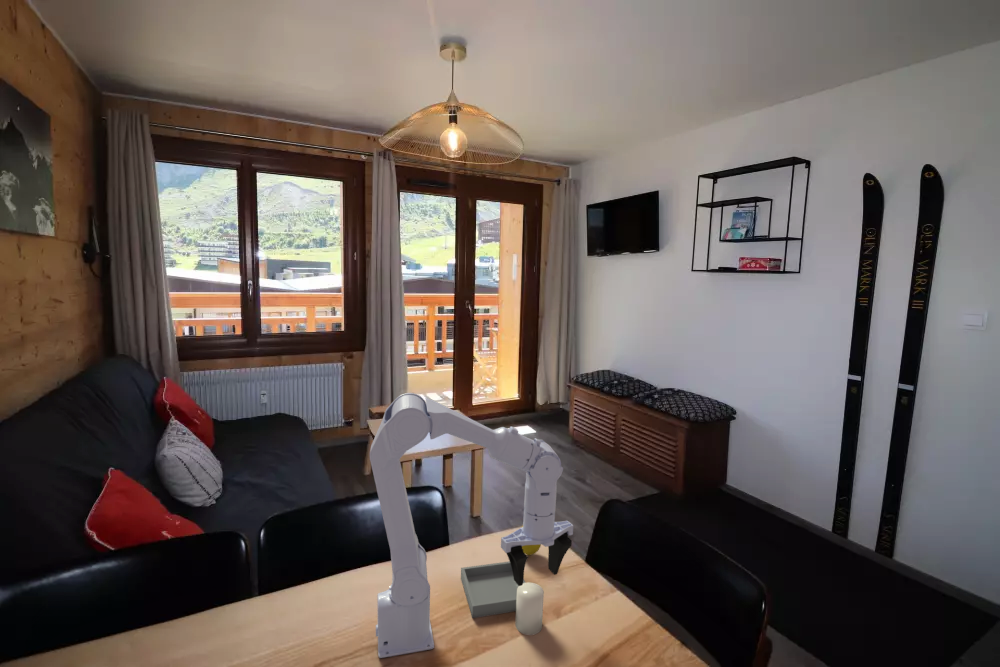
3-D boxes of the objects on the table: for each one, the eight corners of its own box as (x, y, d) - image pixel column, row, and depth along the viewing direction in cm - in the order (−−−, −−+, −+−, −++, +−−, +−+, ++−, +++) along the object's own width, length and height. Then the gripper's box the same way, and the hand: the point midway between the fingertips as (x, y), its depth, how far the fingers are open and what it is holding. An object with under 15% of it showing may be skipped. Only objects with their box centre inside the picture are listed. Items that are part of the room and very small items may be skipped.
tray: (472, 618, 93) (472, 606, 93) (460, 578, 105) (461, 567, 104) (531, 608, 96) (532, 597, 96) (514, 571, 108) (514, 560, 107)
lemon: (543, 561, 112) (545, 528, 111) (520, 563, 111) (521, 530, 109) (536, 547, 117) (538, 516, 116) (514, 549, 116) (515, 517, 115)
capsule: (519, 637, 89) (521, 602, 88) (512, 617, 94) (513, 584, 93) (545, 632, 90) (547, 598, 89) (536, 613, 95) (538, 580, 94)
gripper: (515, 528, 82) (512, 601, 84) (584, 510, 89) (580, 579, 91) (496, 509, 89) (493, 577, 91) (562, 494, 95) (558, 558, 97)
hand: (535, 576), depth 91 cm, fingers open, 7 cm apart
